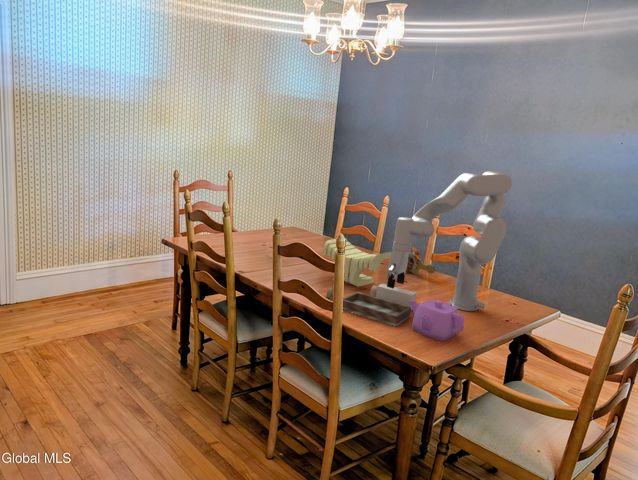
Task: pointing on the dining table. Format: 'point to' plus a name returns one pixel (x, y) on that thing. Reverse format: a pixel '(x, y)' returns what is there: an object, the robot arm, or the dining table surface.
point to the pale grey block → (393, 294)
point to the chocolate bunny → (330, 291)
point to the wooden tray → (376, 308)
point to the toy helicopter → (418, 263)
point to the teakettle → (436, 319)
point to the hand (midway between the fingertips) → (395, 285)
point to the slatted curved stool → (355, 262)
